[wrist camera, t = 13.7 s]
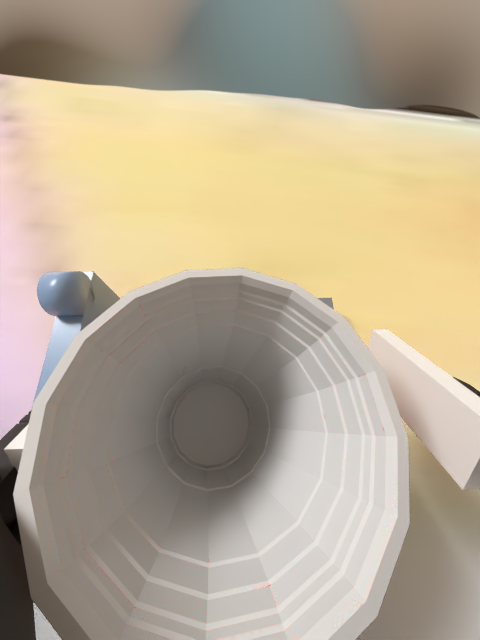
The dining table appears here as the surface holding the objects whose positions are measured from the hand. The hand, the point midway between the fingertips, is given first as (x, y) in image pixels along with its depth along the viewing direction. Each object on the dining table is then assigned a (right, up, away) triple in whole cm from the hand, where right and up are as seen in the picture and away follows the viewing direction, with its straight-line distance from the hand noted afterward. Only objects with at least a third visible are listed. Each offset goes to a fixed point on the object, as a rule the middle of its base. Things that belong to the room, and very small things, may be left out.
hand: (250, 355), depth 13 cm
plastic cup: (-3, -5, +4) cm, 8 cm away
